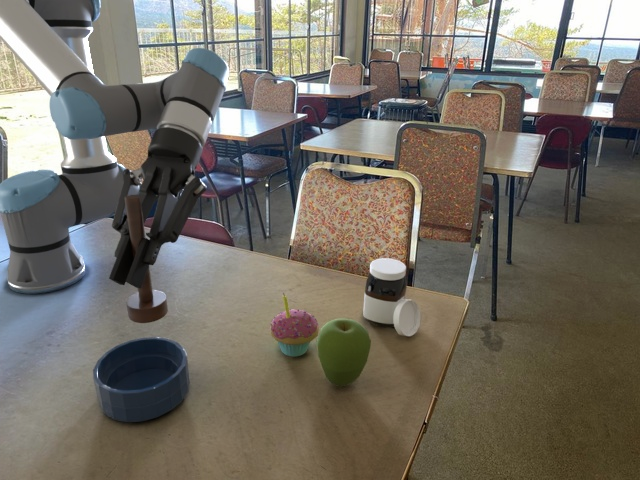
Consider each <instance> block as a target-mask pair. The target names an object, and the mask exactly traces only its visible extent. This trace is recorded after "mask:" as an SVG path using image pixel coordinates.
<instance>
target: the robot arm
mask: <svg viewBox="0 0 640 480" xmlns="http://www.w3.org/2000/svg"><path fill="white" fill-rule="evenodd" d="M101 8H102V7H101V0H0V40H1V41H2V42H3V44H4V45H5V46H6V47H7V48H8V49H9V50H10V51H11V53H12V54H13V55H14V56H15V57H16V58H17V60H18V61H19V62H20V63H21V64H22V65H23V67H24V68H25V69H26V70H27V71H28V72H29V73H30V74H31V75H32V77H33V78H34V79H35V80H36V81H37V83H38V84H39V85H40V86H41V87H42V88H43V89H44V91H45V92H46V93H47V94H48V95H49V96H50V97H49V113H50V116H51V121H53V123H54V124H55V129H56V130H57V131H58V133H59V134H60V135H61V138H62V142H63V147H64V152H65V157H64V159H63V160H62V161H61V162H60V168H61V174H58V173H57V172H56V171H55V170H51V169H38V170H30V171H24V172H21V173H17V174H15V175H12V176H10V177H8V178H6V179H4V180H2V181H1V182H0V217H1V220H2V224H3V225H2V226H3V229H4V232H5V236H6V240H7V243H8V248H9V257H8V258H9V259H8V264H7V265H8V266H7V272H6V280H7V284H8V287H9V289H10V290H11V291H13V292H16V293H20V294H26V295H27V294H29V295H35V294H36V295H37V294H46V293H51V292H55V291H60V290H63V289H65V288H68V287H70V286H72V285H74V284H77V282H79V281H80V280H81V279H83V277H84V276H85V275H86V266H85V265H86V264H85V262H84V259H85V258H84V257H83V256H82V254H80V253H79V252H78V250H77V249H76V247H75V245H74V243H73V242H72V240H71V234H70V230H69V229H70V228H72V227H76V226H81V225H83V224H87V223H91V222H94V221H98V220H101V219H105V218H106V219H107V218H111V217H113V219H112V223H111V228H112V229H113V230H115V231H117V232H118V233H119V234H120V237H119V240H118V243H117V246H116V248H115V250H114V256H113V257H114V258H116V259H115V260H114V264H113V266H112V269H111V271H110V274H109V277H108V279H109V280H110V281H113V282H114V283H116V284H117V285H121V286H125V285H126V283H127V284H129V285H130V286H133V287H134V288H137V289H138V288H141V287H142V284H143V282H144V279H145V276H146V273H147V271H148V268H149V267H150V266H154V265H155V264H156V262H157V258H158V256H159V254H160V251H161V248H162V247H163V245H164V244H166V243H172V244H174V243H176V242H177V241H178V239H179V238H180V235H181V233H182V232H183V229H184V227H185V225H186V224H187V222H188V220H189V218H190V215H191V213H192V211H193V210H194V207H195V205H196V203H197V202H198V199H199V198H200V197H201V196H202V195H203V194H204V193H205V192H206V191H207V185H206V184H205V183H204V182H203V181H202V179H201V178H200V177H199V176H196V173H195V170H196V169H197V168H198V165H199V162H200V160H201V156H202V154H203V148H205V144H206V142H207V139H208V137H209V134H210V132H211V129H212V125H213V122H214V121H215V118H216V115H217V113H218V109H219V107H220V105H221V102H222V99H223V96H224V93H225V92H226V91H227V83H228V80H229V77H230V68H229V66H228V64H227V62H226V60H225V59H224V58H222V57H221V56H220V55H219V54H218V53H216V52H214V51H213V50H210V49H209V48H203V47H195V48H192V49H189V50H188V51H187V53H186V54H185V56H184V58H183V59H182V60H181V66H180V68H179V69H178V70H177V71H174V72H173V73H171V74H170V75H168V76H166V77H165V78H163V79H161V80H159V81H155V82H141V83H128V84H112V85H111V84H110V85H109V84H108V85H106V84H105V83H103V82H102V81H101V79H100V78H99V77H97V75H95V74H94V69H93V64H92V58H91V53H90V47H89V41H88V38H89V36H90V35H91V33H92V32H93V31H94V27H93V22H95V21H97V19H98V18H99V17H100V14H101V11H100V9H101ZM143 131H150V132H153V135H152V137H151V139H150V142H149V145H148V147H147V157H146V159H145V161H144V162H142V164H141V165H140V168H137V169H134V170H130V169H129V168H126V167H125V166H124V165H122V164H120V163H118V160H117V157H115V156H114V155H112V154H111V153H110V152H109V151H108V145H107V140H106V137H110V136H115V135H120V134H121V135H122V134H127V133H135V132H143ZM128 195H139V196H140V199H141V207H142V214H143V222H144V224H145V223H146V221H147V219H148V217H149V215H150V213H151V211H152V209H153V207H154V205H155V203H156V202H157V204H156V206H155V207H156V208H155V211H154V213H153V214H154V215H153V218H152V221H151V226H150V230H149V232H145V237H146V238H142V240H141V243H140V245H139V248H138V250H137V253H136V256H135V258H134V260H133V253H132V246H131V240H130V233H129V226H128V219H127V212H126V205H125V196H128ZM147 237H148V238H147Z"/></svg>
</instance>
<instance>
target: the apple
mask: <svg viewBox="0 0 640 480" xmlns="http://www.w3.org/2000/svg"><path fill="white" fill-rule="evenodd" d="M315 343H316V350H317V356H318V359H319V362H320V364H321V367H322V371H323V373H324V376H325V378H326V379H327V380H328V381H329V382H330V383H332V384H333V385H334V386H336V387H345V386H348V385H351V384H353V382H355V381H357V380H358V379H359V378H360V376H361V374H362V372H363V370H364V368H365V366H366V364H367V363H368V359H369V356H370V355H369V354H370V351H371V346H372V340H371V337H370V333H369V331H368V330H367V328H366V327H365V326H363V325H362V324H361V323H360V322H358V321H357V320H354V319H351V318H335V319H332V320H330V321H328V322H326V323H325V324H324V325H323V326H322V327H321V328H320V331H319V332H318V336H317V338H316V342H315Z"/></svg>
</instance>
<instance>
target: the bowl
mask: <svg viewBox="0 0 640 480" xmlns="http://www.w3.org/2000/svg"><path fill="white" fill-rule="evenodd" d="M92 374H93V376H92V377H93V379H92V380H93V383H94V389H95V393H96V397H97V403H98V407H99V408H100V410H101V411H102V413H103V414H104V415H105V416H107V417H109V418H110V419H112V420H114V421H119V422H125V423H136V422H137V423H138V422H146V421H148V420H153V419H157V418H158V417H161V416H163V415H165V414H166V413H169V412H170V411H172V410H174V409H175V408H176V407H178V405H180V404H181V403H182V402H183V401H184V399H185V397H186V396H187V394H188V393H189V389H190V384H191V382H190V372H189V364H188V354H187V351H186V349H185V348H184V347H183V346H182V345H181V344H180V343H179V342H177V341H174V340H172V339H170V338H166V337H159V336H151V337H150V336H148V337H139V338H135V339H131V340H127V341H126V342H123V343H119V344H118V345H116V346H114V347H112V348H110V349H109V350H107V351H106V352H105V353H103V355H102V356H101V357H100V358H99V359H98V360H97V361H96V363H95V365H94V367H93V369H92Z"/></svg>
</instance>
